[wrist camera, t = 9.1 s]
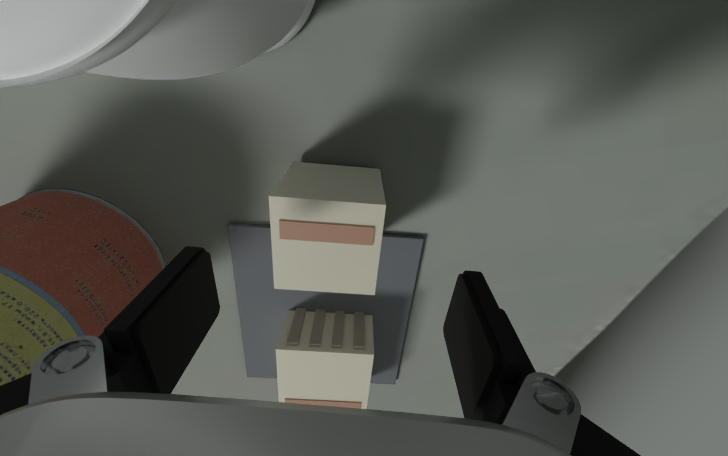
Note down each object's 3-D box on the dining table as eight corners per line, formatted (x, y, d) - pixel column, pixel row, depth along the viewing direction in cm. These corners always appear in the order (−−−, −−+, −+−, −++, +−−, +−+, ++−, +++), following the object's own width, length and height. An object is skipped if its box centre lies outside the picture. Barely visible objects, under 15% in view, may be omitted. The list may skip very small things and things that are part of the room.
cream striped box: (372, 312, 26) (374, 353, 22) (364, 379, 29) (364, 423, 26) (287, 307, 25) (274, 347, 22) (289, 375, 29) (279, 419, 25)
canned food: (-23, 180, 21) (-430, 298, 10) (150, 197, 21) (-60, 324, 11) (38, 309, 26) (-188, 478, 15) (177, 319, 27) (53, 489, 16)
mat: (422, 236, 23) (423, 239, 23) (394, 380, 30) (394, 384, 30) (229, 222, 22) (227, 225, 22) (248, 373, 30) (247, 376, 29)
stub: (379, 168, 20) (386, 205, 15) (371, 241, 22) (374, 296, 17) (293, 161, 20) (268, 196, 14) (295, 235, 22) (273, 289, 17)
